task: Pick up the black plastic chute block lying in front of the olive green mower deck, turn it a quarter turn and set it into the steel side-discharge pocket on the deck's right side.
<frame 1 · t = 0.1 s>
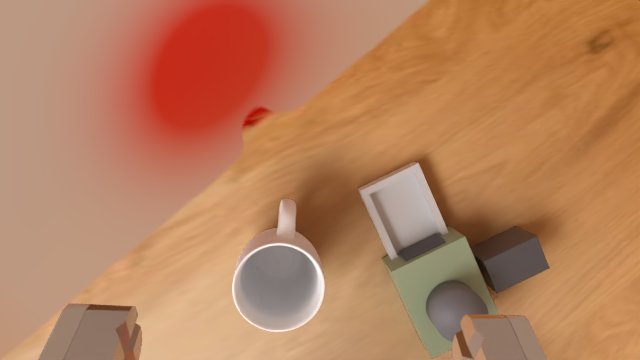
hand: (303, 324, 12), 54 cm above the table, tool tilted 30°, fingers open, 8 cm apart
mower deck: (434, 282, 70), on the table
mug: (281, 247, 67), on the table
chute: (497, 252, 70), on the table
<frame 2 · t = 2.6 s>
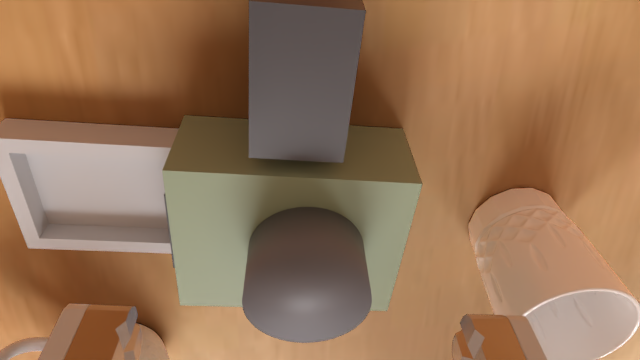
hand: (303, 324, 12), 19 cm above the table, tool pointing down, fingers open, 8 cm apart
mower deck: (291, 189, 33), on the table
white cup: (510, 219, 36), on the table
mug: (116, 335, 43), on the table
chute: (301, 45, 27), on the table
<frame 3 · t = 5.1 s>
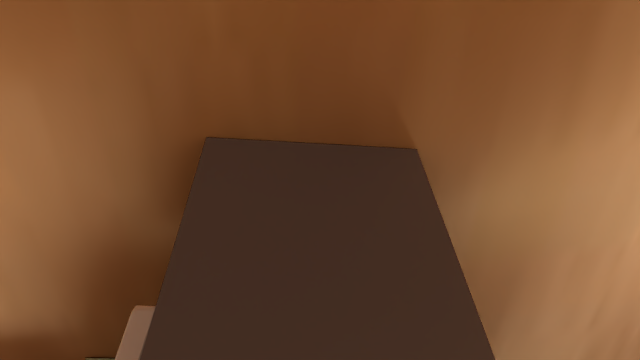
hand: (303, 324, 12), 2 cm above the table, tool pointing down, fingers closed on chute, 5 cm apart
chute: (302, 261, 13), on the table, touching gripper
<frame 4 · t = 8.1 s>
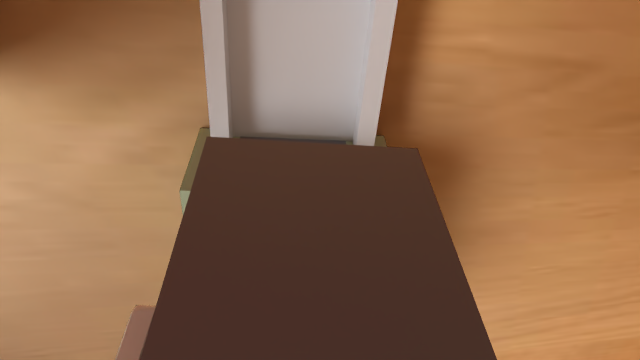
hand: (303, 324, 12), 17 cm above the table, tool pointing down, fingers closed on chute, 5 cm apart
mower deck: (289, 219, 32), on the table
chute: (302, 260, 13), point 15 cm above the table, touching gripper
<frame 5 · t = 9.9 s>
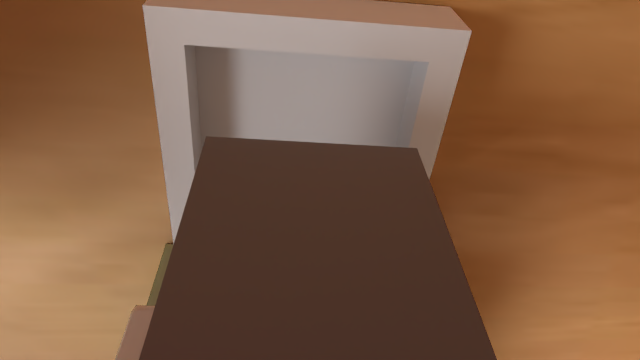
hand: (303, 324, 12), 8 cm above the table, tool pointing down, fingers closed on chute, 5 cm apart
mower deck: (284, 341, 25), on the table
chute: (302, 260, 13), point 6 cm above the table, touching gripper
when the fingers open (4 cm above the table, at t = 11.4 s): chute drops 1 cm, resting on mower deck.
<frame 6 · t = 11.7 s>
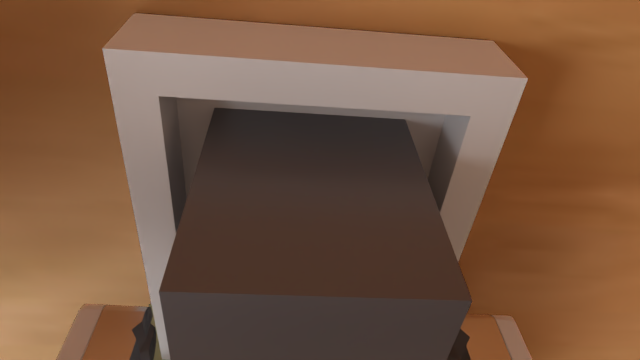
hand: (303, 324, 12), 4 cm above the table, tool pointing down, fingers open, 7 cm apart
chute: (301, 226, 15), point 1 cm above the table, touching mower deck
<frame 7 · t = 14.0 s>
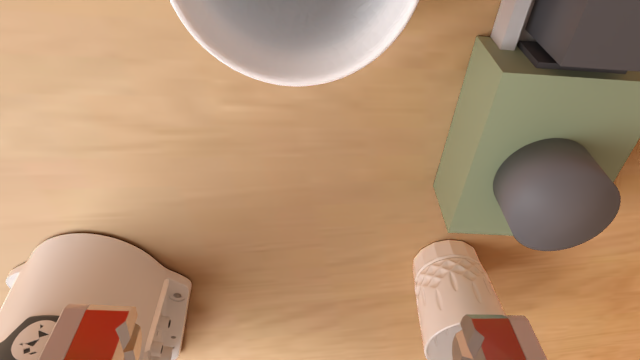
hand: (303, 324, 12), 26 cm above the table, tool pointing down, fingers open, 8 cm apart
mower deck: (518, 123, 39), on the table
white cup: (444, 259, 49), on the table
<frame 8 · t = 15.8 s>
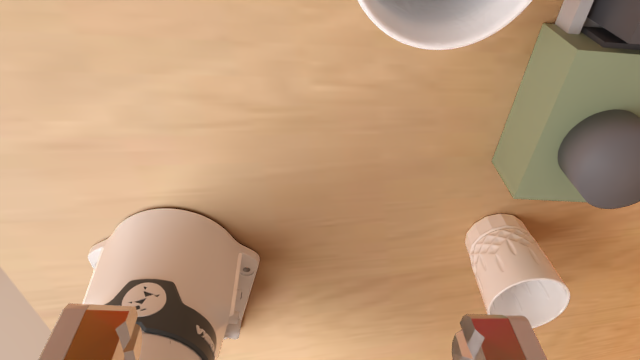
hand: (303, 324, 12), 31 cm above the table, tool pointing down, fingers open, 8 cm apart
mower deck: (571, 102, 44), on the table
white cup: (493, 233, 54), on the table
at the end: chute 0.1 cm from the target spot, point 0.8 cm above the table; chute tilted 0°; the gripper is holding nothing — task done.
